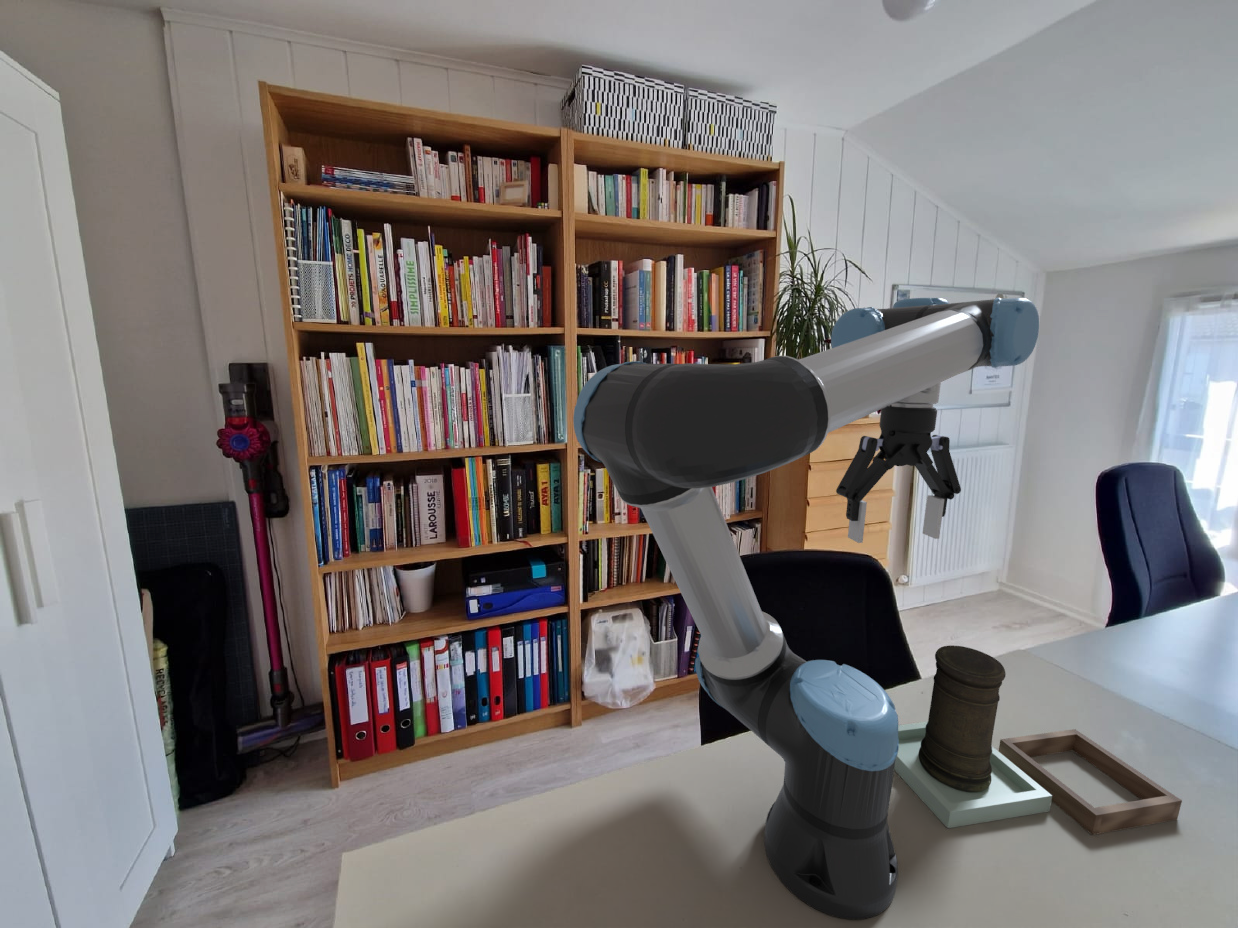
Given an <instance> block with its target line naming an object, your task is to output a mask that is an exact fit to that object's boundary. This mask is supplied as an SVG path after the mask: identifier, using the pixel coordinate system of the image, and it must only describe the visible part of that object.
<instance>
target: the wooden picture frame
mask: <svg viewBox="0 0 1238 928" xmlns="http://www.w3.org/2000/svg"><path fill="white" fill-rule="evenodd" d="M998 745H999V746H998V751H999V752H1000V753H1001V754H1002V755H1003V756H1005V757H1006V758H1007V759H1008V760H1010V761H1011V762H1012V763H1013V764H1014V765H1016V766H1017V767H1018V768H1019V769H1020V770H1022V771H1023V772H1024V773H1025V774H1027V775H1028V776H1029V777H1030V778H1031V779H1033V780H1034V781H1035V782H1036V783H1038V784H1039V785H1040V786H1041V787H1042V788H1044V789H1045V790H1046V791H1047V792H1048V793H1050V794H1051V795H1052V800H1051V803H1053V804H1054V805H1056V806H1057V807H1058V808H1059V809H1060V810H1061V811H1063V812H1064V813H1065V814H1066V815H1067V816H1069V817H1070V819H1072V820H1074V821H1075V822H1076V823H1077V824H1078V825H1080V826H1081V827H1082V828H1083V829H1084V830H1086V831H1087V832H1088V833H1089V834H1090V835H1092V836H1093V835H1098V834H1099V835H1100V834H1104V833H1109V832H1115V831H1120V830H1127V829H1131V828H1137V827H1143V826H1148V825H1154V824H1155V825H1156V824H1161V823H1166V822H1170V821H1176V820H1178V818H1179V814H1180V809H1181V806H1182V803H1183V800H1182V799H1181V798H1179V797H1178V796H1176V795H1175V794H1173V793H1172V792H1170V791H1169V790H1167V789H1165V788H1164V787H1162V786H1161V785H1160V784H1158V783H1157V782H1155V781H1154V780H1152V779H1151V778H1149V777H1148V776H1146V775H1145V774H1144V773H1142V772H1141V771H1138V770H1137V769H1135V768H1134V767H1133V766H1131V765H1129V764H1128V763H1126V762H1125V761H1123V759H1121V758H1119V757H1117V756H1116V755H1115V754H1113V753H1112V752H1110V751H1108V749H1106V748H1105V747H1103V746H1101V745H1100V744H1098V743H1097V742H1096V741H1094V740H1092V739H1091V738H1089V737H1087V735H1084V734H1083V733H1082V732H1080V731H1079V730H1077V729H1076V728H1075V729H1074V728H1073V729H1066V730H1060V731H1059V730H1058V731H1053V732H1052V731H1051V732H1044V733H1038V734H1030V735H1021V736H1014V737H1007V738H1000V739H999V744H998ZM1068 752H1074V753H1076V755H1078V756H1080V757H1081V758H1082V759H1084V760H1085V761H1087V762H1088V763H1090V765H1092V766H1094V767H1095V768H1097V769H1098V770H1100V771H1101V772H1102V773H1104V774H1105V775H1106V776H1108V778H1110V779H1112V780H1114V781H1115V782H1116V783H1117V784H1119V785H1120V786H1122V787H1123V788H1124V789H1126V790H1127V791H1129V792H1130V793H1132V794H1133V795H1134V796H1136V797H1138V799H1139V800H1133V801H1127V802H1122V803H1114V804H1109V805H1104V806H1103V805H1102V806H1097V807H1094V806H1093V805H1091V804H1090V803H1089V802H1088V801H1087V800H1085V799H1084V798H1082V797H1081V796H1080V795H1079V794H1078V793H1076V792H1075V791H1074V790H1072V789H1071V788H1070V787H1068V786H1067V785H1066V784H1065V783H1064V782H1062V781H1061V780H1060V779H1058V778H1057V777H1056V776H1055V775H1054V774H1052V773H1051V772H1050V771H1048V770H1047V769H1046V768H1044V767H1043V766H1042V765H1040V764H1039V763H1038V762H1037V761H1035V760H1034V759H1033V758H1034V757H1039V756H1046V755H1054V754H1058V753H1059V754H1060V753H1068ZM1032 757H1033V758H1032Z"/></svg>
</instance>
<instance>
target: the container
mask: <svg viewBox="0 0 1238 928" xmlns="http://www.w3.org/2000/svg"><path fill="white" fill-rule="evenodd" d="M934 658H935V659H934V660H935V667H936V671H935V674H934V676H933V686H932V692H931V699H930V706H929V712H928V719H927V720H928V721H927V722H928V723H927V724H926V728H925V729H926V733H925V737H924V738H923V739H922V741H921V747H920V749H919V760H920V763H921V765H922V766H923V768H924V769H925V770H926V771H927V772H928V773H929V774H930V775H931V776H932V777H933V778H935V779H936V780H938V781H939V782H941V783H943V784H945V785H947V786H949V787H951V788H954V789H957V790H960V791H965V792H981V791H984V790H986V789H987V788H988V787H989V786H990V784H991V773H992V767H991V764H990V756H991V754H992V745H993V735H994V729H995V722H996V718H997V712H998V706H999V701H1000V689H1001V686H1002V685H1003V681H1004V680H1005V678H1006V674H1007V673H1006V670H1005V669H1006V668H1005V667H1004V666H1003V664H1002V663H1001V662H1000V661H999V660H997V659H996V658H995V657H993V656H991V655H990V654H988V653H985V652H983V651H981V650H977V649H974V648H970V647H967V646H961V645H944V646H941V647H939V648H938V649H937V650H936V651H935V654H934Z"/></svg>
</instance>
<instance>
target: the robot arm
mask: <svg viewBox="0 0 1238 928" xmlns="http://www.w3.org/2000/svg"><path fill="white" fill-rule="evenodd" d="M1039 331H1040V317H1039V310H1038V309H1037V307H1036V305H1035V304H1034V303H1033V301H1031V300H1030V299H1027V298H1024V297H1011V298H1010V297H1009V298H1001V297H995V298H992V299H982V300H973V301H972V300H971V301H963V302H952V303H950V302H949V301H948V300H947V299H944V298H941V297H914V298H913V297H912V298H905V299H904V298H903V299H900V300H897V301H895V302H894V304H893V305H892V307H889V308H875V307H873V306H869V307H856V308H852V309H849V310H847V311H845V312H844V313H843V314H842V315H840V317H839V318H838V319H837V321H835V323H834V324H833V327H832V331H831V337H830V338H831V339H830V344H831V348H829V349H826V350H823V351H820V352H818V353H814V354H811V355H808V356H805V357H803V358H800V359H798V358H795V357H792V356H789V355H776V356H771V357H768V358H766V359H762V360H759V361H754V362H745V363H734V364H733V363H732V364H728V363H727V364H718V363H716V364H714V363H713V364H710V363H692V362H691V363H646V362H642V361H639V360H638V361H637V360H633V361H626V362H623V363H618V364H613V365H609V366H606V367H604V368H602V369H600V370H599V371H597V372H595V373H594V375H592V376H591V377H590V378H589V379H588V380H587V382H585V384H584V385H583V387H582V389H581V390H580V392H579V394H578V397H577V399H576V403H575V406H574V410H573V419H572V420H573V422H572V423H573V430H574V433H575V437H576V439H577V442H578V444H579V446H580V447H581V448H582V449H583V451H584V452H585V453H586V454H587V455H588V456H589V457H591V459H593V460H594V461H597V462H599V463H602V464H603V465H604V467H605V469H606V471H607V473H608V475H609V477H610V479H611V481H612V484H613V485H614V487H615V489H616V491H617V493H618V495H619V497H620V499H621V500H622V502H623V503H624V504H626V505H628V506H631V507H636V508H639V509H640V510H641V513H642V514H643V516H644V518H645V520H646V523H647V524H648V526H649V528H650V531H651V533H652V535H653V537H654V540H655V541H656V543H657V545H658V548H659V549H660V551H661V554H662V556H663V558H664V560H665V563H666V564H667V566H668V569H669V571H670V573H671V575H672V577H673V579H674V581H675V583H676V585H677V587H678V589H679V591H680V594H681V597H683V600H684V602H685V604H686V606H687V608H688V610H689V612H690V615H691V617H692V619H693V621H694V623H695V625H696V627H697V629H698V631H699V634H700V638H699V641H698V647H697V650H696V653H697V654H698V657H696V658H695V672H696V676H697V679H698V681H699V683H700V685H701V687H702V688H703V689H704V691H705V692H706V693H707V694H708V696H709V697H710V698H711V699H712V701H713V702H715V703H716V704H717V705H718V706H720V707H721V708H723V709H725V710H726V711H727V712H728V713H729V714H731V715H732V716H734V718H736V719H737V720H738V721H739V722H740V723H741V724H743V725H744V726H745V727H746V728H748V730H750V731H751V732H753V734H754V735H756V736H757V737H758V738H759V739H760V740H761V741H763V742H764V743H765V744H766V745H767V746H769V748H771V750H773V751H774V752H776V754H778V756H780V757H781V758H782V759H783V761H784V772H783V785H782V786H781V789H780V791H779V793H778V795H777V797H776V799H775V801H774V803H773V804H772V805H771V806H770V809H769V811H768V812H767V815H766V820H765V825H764V840H763V842H764V850H765V854H766V857H767V860H768V862H769V864H770V866H771V869H772V870H773V872H774V873H775V875H776V877H778V879H779V881H780V882H781V883H782V884H783V885H784V886H785V887H786V888H787V890H789V892H791V894H793V895H794V896H796V897H797V898H798V899H799V900H800V901H802V902H803V903H804V904H806V905H808V906H810V907H812V908H813V909H815V910H817V911H819V912H821V913H824V914H827V915H829V916H832V917H835V918H840V919H845V920H864V919H865V920H866V919H869V918H872V917H876V916H878V915H879V914H881V913H882V912H884V911H886V910H887V908H888V907H889V906H890V905H891V904H892V902H893V899H894V898H895V894H896V889H897V883H898V873H899V870H898V868H899V866H898V859H897V855H896V850H895V847H894V843H893V839H892V835H891V834H892V833H891V832H890V828H889V824H888V816H889V809H890V808H889V807H890V801H891V793H892V787H893V780H894V774H895V770H894V767H895V760H896V757H897V753H898V749H899V740H898V725H899V716H898V714H897V711H896V706H895V704H894V702H893V700H892V699H891V696H890V695H889V694H888V693H887V692H886V690H885V689H884V688H883V687H882V686H881V685H880V684H879V683H878V682H877V681H876V680H874V679H873V678H871V677H870V676H869V675H867V674H866V673H864V672H862V671H861V670H859V669H857V668H855V667H853V666H850V665H848V664H846V663H843V664H842V665H839V664H837V662H836V661H834V660H827V659H815V660H814V659H812V660H808V661H806V660H805V659H803V658H802V657H801V656H798V655H797V654H795V652H793V651H792V649H790V647H789V645H788V644H787V640H786V637H785V636H784V633H783V631H782V628H781V626H780V624H779V623H778V621H777V620H776V619H775V618H774V617H773V616H771V615H770V614H768V613H766V612H764V611H762V609H761V607H760V604H759V602H758V599H757V596H756V594H755V592H754V588H753V586H752V584H751V581H750V579H749V576H748V574H747V571H746V569H745V566H744V564H743V561H742V558H741V557H740V554H739V552H738V549H737V546H736V545H735V542H734V539H733V536H732V534H731V531H730V528H729V527H728V523H727V521H726V518H725V516H724V514H723V511H722V509H721V506H720V504H719V501H718V498H717V497H716V494H715V491H714V489H713V488H714V487H718V486H723V485H727V484H731V483H735V482H739V481H742V480H745V479H746V480H747V479H749V478H753V477H756V476H758V475H761V474H765V473H768V472H770V471H773V470H775V469H777V468H780V467H782V466H785V465H788V464H790V463H793V462H794V461H797V460H799V459H801V458H804V457H805V456H807V455H809V454H810V455H811V454H812V453H813V452H815V451H816V450H818V449H819V448H820V447H821V446H822V445H823V443H824V442H825V440H826V438H827V436H828V434H829V433H832V432H834V431H836V430H837V429H840V428H842V427H844V426H847V425H849V424H851V423H853V422H855V421H858V420H860V419H862V418H864V417H867V416H869V415H871V414H873V413H876V412H877V411H879V410H880V417H879V428H880V432H881V433H880V436H879V437H878V438H876V437H873V436H866V435H862V436H861V438H860V441H859V445H858V449H857V452H856V453H855V455H854V457H853V459H852V460H851V462H850V465H848V468H847V470H846V471H845V473H844V475H843V477H842V478H841V480H840V482H839V483H838V485H837V488H836V490H835V492H836V494H837V495H840V496H841V497H843V498H846V500H847V502H846V511H845V512H846V513H845V517H846V519H848V520H849V522H848V523H849V524H848V532H847V538H848V539H851V540H852V541H853V542H856V543H858V544H860V543H861V544H862V543H863V541H864V533H865V524H866V523H865V522H866V514H867V504H868V503H867V502H868V501H865V500H863V499H864V498H865V497H866V496H867V495H868V494H869V493H870V491H871V490H872V489H873V487H875V486H876V484H877V483H879V481H880V480H881V478H883V477H884V475H885V474H886V473H887V472H888V471H889V470H892V469H893V468H894V466H896V467H904V466H911V467H915V468H916V470H917V471H918V474H919V475H920V476H921V477H922V478H923V480H924V482H925V484H926V486H927V487H928V488H929V490H930V491H931V493H932V494H927V495H926V504H925V510H924V511H925V513H924V518H923V526H922V534H923V535H925V536H928V537H931V538H933V539H934V540H936V539H938V540H939V539H940V537H941V536H940V535H941V528H942V520H943V518H944V517H945V516H946V512H947V504H948V500H953V499H955V495H958V494H960V493H961V491H962V488H961V484H960V481H959V479H958V475H957V472H956V468H955V465H954V461H953V458H952V456H951V452H950V437H949V436H944V435H938V434H933V435H931V433H933V432H934V431H935V430H936V425H937V424H936V423H937V417H938V410H937V408H936V407H934V405H936V404H938V403H939V398H940V392H941V385H942V382H945V381H946V380H947V381H948V380H949V379H952V378H953V377H955V376H958V375H960V374H963V373H965V372H968V371H970V370H973V369H976V368H979V367H991V368H992V369H993V368H996V369H997V368H999V367H1000V368H1001V367H1013V366H1018V365H1021V364H1023V363H1024V362H1025V361H1027V359H1029V358H1030V356H1031V355H1032V353H1033V352H1034V349H1035V348H1036V345H1037V341H1038V338H1039ZM929 450H930V452H931V455H932V458H933V460H932V458H931V456H930V455H929V454H928V451H929ZM878 451H879V452H878ZM876 452H877V454H876ZM933 464H935V466H934V465H933Z"/></svg>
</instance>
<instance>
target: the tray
mask: <svg viewBox="0 0 1238 928" xmlns="http://www.w3.org/2000/svg"><path fill="white" fill-rule="evenodd" d="M927 723H928V721H924V722H923V721H922V722H916V723H915V722H913V723H908V724H907V723H906V724H898V740H899V749H898V753H897V757H896V760H895V767H894V772H896V774H897V775H899V777H901V779H903V781H904V782H905V783H906V784H907V785H908V786H909V788H910V789H911V790H912V791H913V792H914V793H915V795H917V797H918V798H920V800H921V801H922V802H923V804H924V805H926V806H927V808H928V809H929V810H930V811H931V812H932V813H933V814H934V815H935V816H936V817H937V818H938V819H939V820H940V822H941V823H942V824H943V825H944V826H945V827H946V828H947V829H951V828H957V827H958V828H959V827H964V826H969V825H970V826H971V825H976V824H983V823H987V822H994V821H999V820H1007V819H1011V818H1017V817H1024V816H1029V815H1030V816H1031V815H1036V814H1041V813H1047V812H1050V810H1051V804H1052V801H1051V800H1052V795H1051V794H1050V793H1048V792H1047V791H1046V790H1045V789H1044V788H1042V787H1041V786H1040V785H1039V784H1038V783H1036V782H1035V781H1034V780H1033V779H1031V778H1030V777H1029V776H1028V775H1027V774H1025V773H1024V772H1023V771H1022V770H1020V769H1019V768H1018V767H1017V766H1016V765H1014V764H1013V763H1012V762H1011V761H1010V760H1008V759H1007V758H1006V757H1005V756H1003V755H1002V754H1001V753H1000V752H999V750H997V748H995V746H992V745H991V746H992V754H991V756H990V764H991V767H992V773H991V784H990V786H989V787H988V788H987V789H986V790H984V791H981V792H965V791H960V790H957V789H954V788H951V787H949V786H947V785H945V784H943V783H941V782H939V781H938V780H936V779H935V778H933V777H932V776H931V775H930V774H929V773H928V772H927V771H926V770H925V769H924V768H923V766H922V765H921V763H920V760H919V749H920V747H921V741H922V739H923V738H924V737H925V733H926V729H925V728H926V724H927Z"/></svg>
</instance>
